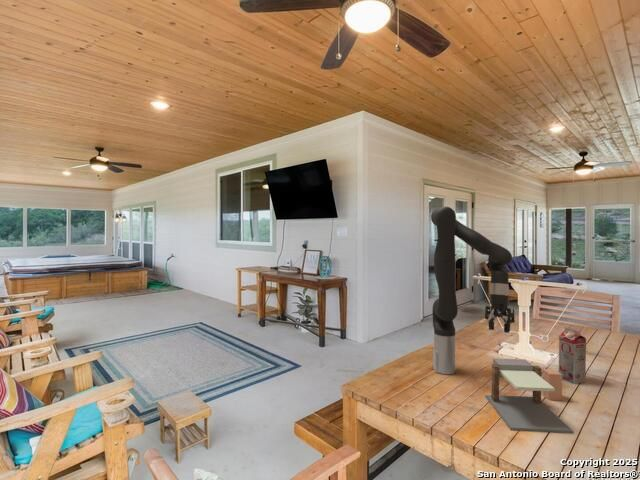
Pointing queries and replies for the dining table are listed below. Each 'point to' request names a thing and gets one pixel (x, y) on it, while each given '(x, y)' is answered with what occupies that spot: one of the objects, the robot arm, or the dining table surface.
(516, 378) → the trapdoor
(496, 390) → the posts
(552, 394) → the brick
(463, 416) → the dining table surface
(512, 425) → the mat
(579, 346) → the juice carton
